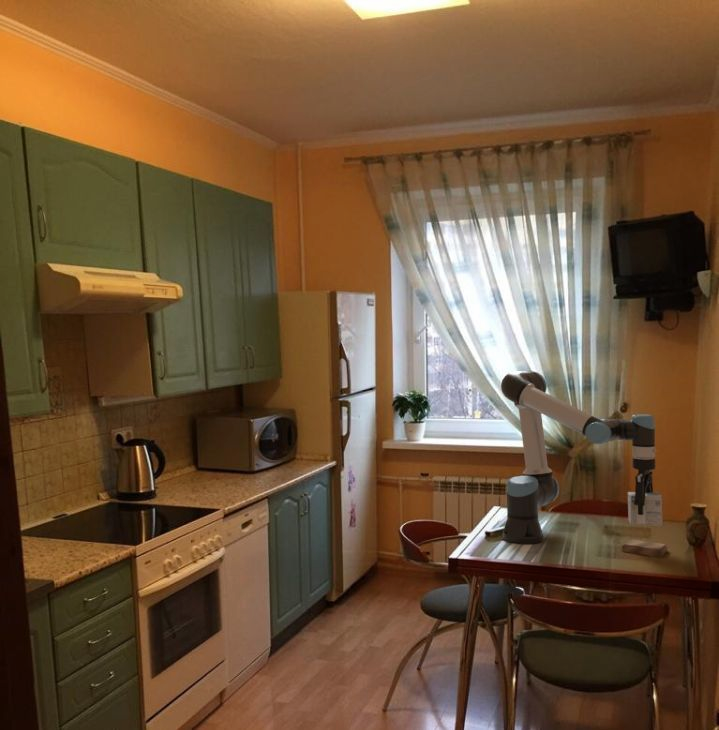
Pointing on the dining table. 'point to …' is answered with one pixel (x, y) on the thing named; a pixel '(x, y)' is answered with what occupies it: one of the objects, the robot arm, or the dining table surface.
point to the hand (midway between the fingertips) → (644, 520)
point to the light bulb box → (646, 509)
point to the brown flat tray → (645, 548)
